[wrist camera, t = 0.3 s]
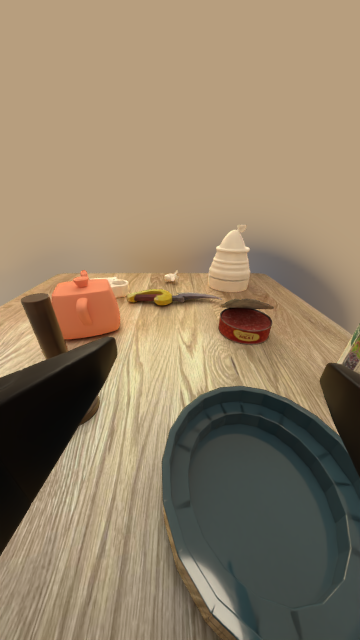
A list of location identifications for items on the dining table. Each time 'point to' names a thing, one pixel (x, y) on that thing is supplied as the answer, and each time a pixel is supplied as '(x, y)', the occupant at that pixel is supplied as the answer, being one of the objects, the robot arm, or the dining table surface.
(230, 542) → the bowl
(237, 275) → the honey pot
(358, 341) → the syrup box
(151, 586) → the dining table surface
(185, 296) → the knife
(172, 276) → the white bird figurine
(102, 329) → the teapot
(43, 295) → the brown tapered cylinder
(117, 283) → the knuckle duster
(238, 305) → the canned food
